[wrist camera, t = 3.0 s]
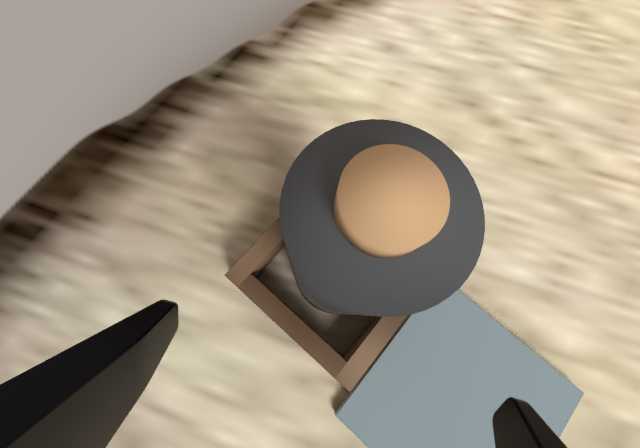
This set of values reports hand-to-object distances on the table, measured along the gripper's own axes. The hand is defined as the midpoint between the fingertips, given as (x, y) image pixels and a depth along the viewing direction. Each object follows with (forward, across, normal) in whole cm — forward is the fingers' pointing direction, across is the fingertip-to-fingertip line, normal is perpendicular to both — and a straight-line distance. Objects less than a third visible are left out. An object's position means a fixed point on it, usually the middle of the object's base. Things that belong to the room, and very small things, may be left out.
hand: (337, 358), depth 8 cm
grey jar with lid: (+10, 0, +5) cm, 11 cm away
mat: (+6, -9, +9) cm, 14 cm away
